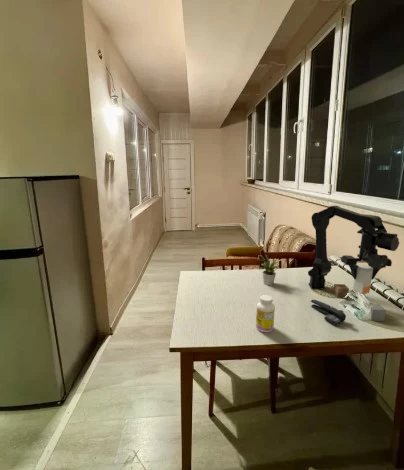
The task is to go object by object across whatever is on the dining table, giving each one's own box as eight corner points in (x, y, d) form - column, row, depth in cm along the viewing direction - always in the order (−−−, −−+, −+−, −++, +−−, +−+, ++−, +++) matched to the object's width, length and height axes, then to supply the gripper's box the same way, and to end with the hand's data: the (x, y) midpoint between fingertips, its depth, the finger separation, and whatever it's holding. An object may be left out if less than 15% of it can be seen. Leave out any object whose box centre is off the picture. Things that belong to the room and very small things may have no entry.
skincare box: (361, 296, 115) (365, 270, 113) (352, 292, 119) (355, 267, 116) (370, 293, 118) (373, 267, 115) (360, 289, 122) (364, 264, 119)
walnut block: (337, 297, 128) (338, 288, 126) (332, 293, 132) (334, 284, 131) (347, 298, 127) (349, 288, 126) (343, 293, 132) (344, 284, 131)
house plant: (247, 282, 145) (248, 254, 142) (262, 276, 154) (263, 249, 151) (269, 290, 135) (271, 260, 131) (284, 283, 144) (286, 254, 140)
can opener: (349, 325, 104) (351, 312, 103) (335, 328, 102) (336, 315, 101) (318, 305, 121) (319, 293, 120) (305, 307, 119) (306, 295, 118)
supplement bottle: (253, 323, 105) (255, 294, 102) (269, 322, 106) (271, 293, 103) (258, 333, 99) (260, 302, 96) (275, 332, 99) (278, 301, 96)
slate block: (371, 320, 108) (372, 309, 107) (364, 314, 113) (366, 303, 112) (383, 321, 108) (385, 309, 106) (376, 314, 112) (378, 303, 111)
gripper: (355, 249, 106) (350, 285, 110) (403, 250, 105) (396, 287, 109) (342, 242, 117) (338, 275, 121) (386, 243, 116) (380, 276, 119)
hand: (363, 279), depth 117 cm, fingers closed on skincare box, 7 cm apart
